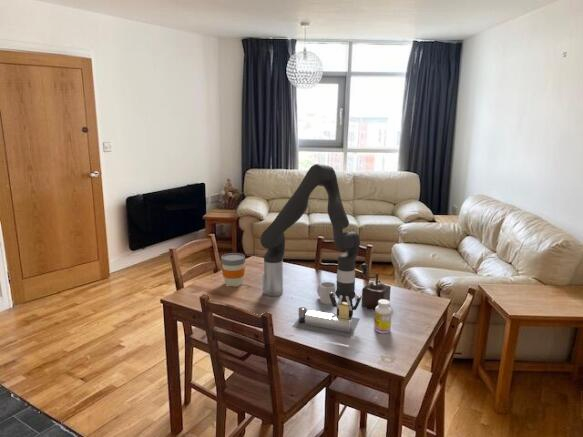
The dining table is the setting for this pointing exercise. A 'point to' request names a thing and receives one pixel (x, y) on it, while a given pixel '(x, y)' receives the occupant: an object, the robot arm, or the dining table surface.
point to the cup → (325, 292)
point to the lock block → (344, 309)
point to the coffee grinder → (373, 291)
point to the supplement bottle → (383, 316)
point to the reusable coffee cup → (233, 268)
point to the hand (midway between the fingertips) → (344, 316)
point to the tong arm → (331, 316)
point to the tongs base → (323, 321)
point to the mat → (328, 331)
